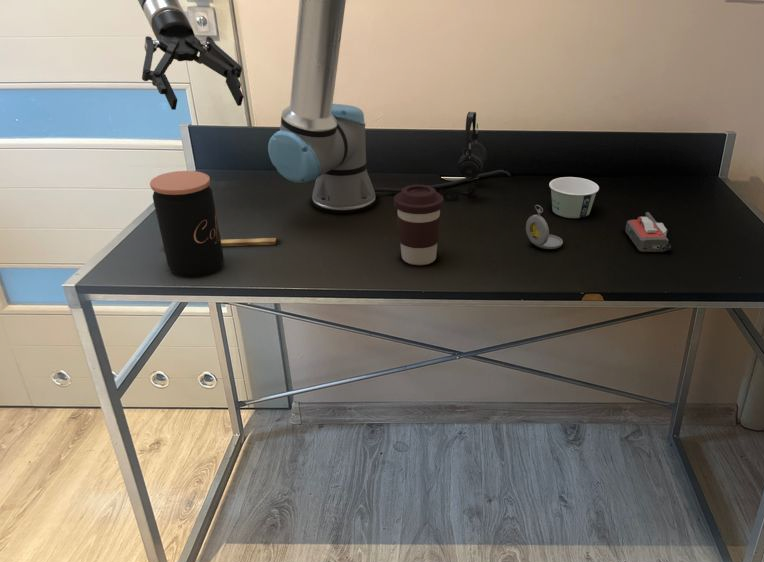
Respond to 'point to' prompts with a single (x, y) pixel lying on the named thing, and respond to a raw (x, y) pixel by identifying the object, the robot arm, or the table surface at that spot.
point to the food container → (572, 196)
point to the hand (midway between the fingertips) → (208, 103)
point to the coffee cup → (418, 223)
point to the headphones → (471, 153)
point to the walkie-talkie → (648, 234)
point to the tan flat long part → (249, 242)
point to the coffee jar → (188, 222)
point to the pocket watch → (541, 232)
